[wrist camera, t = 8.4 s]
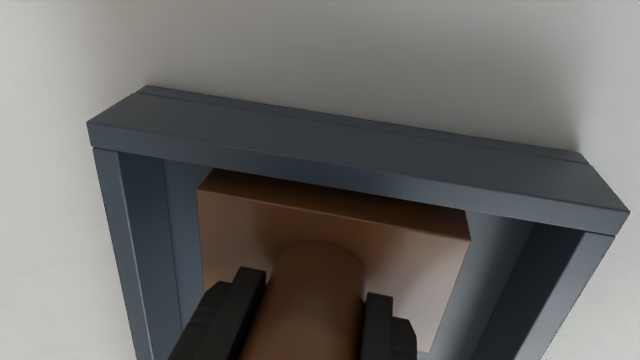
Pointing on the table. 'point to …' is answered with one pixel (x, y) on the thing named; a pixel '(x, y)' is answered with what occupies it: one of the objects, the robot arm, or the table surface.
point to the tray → (361, 176)
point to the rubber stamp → (327, 260)
